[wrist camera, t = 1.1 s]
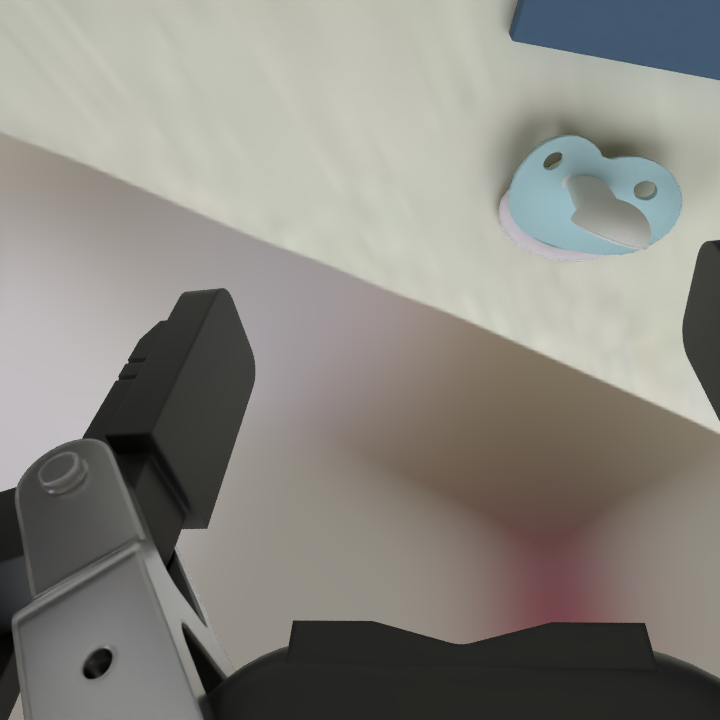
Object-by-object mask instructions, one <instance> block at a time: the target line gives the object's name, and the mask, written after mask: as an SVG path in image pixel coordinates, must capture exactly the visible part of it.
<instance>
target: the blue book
mask: <svg viewBox="0 0 720 720" xmlns="http://www.w3.org/2000/svg"><path fill="white" fill-rule="evenodd" d="M509 35H510V37H511V39H512V40H513V41H516V42H521V43H527V44H532V45H537V46H542V47H548V48H553V49H558V50H563V51H569V52H574V53H579V54H585V55H590V56H595V57H600V58H606V59H611V60H616V61H621V62H627V63H632V64H637V65H642V66H648V67H653V68H658V69H664V70H669V71H674V72H679V73H685V74H690V75H695V76H700V77H706V78H711V79H716V80H720V0H518V4H517V7H516V11H515V14H514V18H513V21H512V24H511V28H510V31H509Z"/></svg>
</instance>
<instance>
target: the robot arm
mask: <svg viewBox="0 0 720 720" xmlns="http://www.w3.org/2000/svg"><path fill="white" fill-rule="evenodd" d="M682 333H683V343H684V348H685V352H686V355H687V357H688V359H689V361H690V363H691V365H692V367H693V369H694V371H695V373H696V375H697V377H698V379H699V381H700V383H701V385H702V387H703V389H704V391H705V393H706V395H707V397H708V399H709V401H710V403H711V405H712V407H713V409H714V411H715V413H716V415H717V417H718V419H719V421H720V240H715V241H707V242H705V243H704V244H703V245H702V246H701V248H700V250H699V253H698V256H697V261H696V265H695V269H694V274H693V278H692V283H691V287H690V292H689V296H688V301H687V305H686V310H685V314H684V319H683V329H682ZM128 361H129V363H128V364H125V366H124V368H123V369H122V371H121V373H120V374H119V376H118V377H119V380H118V381H115V383H114V385H113V387H112V388H111V390H110V392H109V393H108V395H107V397H106V398H105V400H104V402H103V404H102V405H101V407H100V409H99V411H98V412H97V414H96V416H95V417H94V419H93V421H92V422H91V424H90V426H89V428H88V429H87V431H86V433H85V434H84V436H83V438H82V439H79V440H74V441H71V442H68V443H65V444H62V445H60V446H58V447H56V448H54V449H52V450H50V451H49V452H47V453H46V454H44V455H43V456H42V457H40V458H39V459H38V460H37V461H35V462H34V463H33V464H32V465H31V466H30V467H29V468H28V469H27V471H26V472H25V473H24V475H23V476H22V478H21V479H20V481H19V483H18V485H17V487H15V488H12V489H9V490H6V491H2V492H0V720H8V719H9V716H10V714H11V712H12V709H13V707H14V705H15V702H16V700H17V698H18V695H19V693H20V692H21V699H22V706H23V714H24V720H720V679H719V678H718V677H716V676H714V675H712V674H710V673H708V672H706V671H704V670H702V669H700V668H698V667H696V666H694V665H692V664H690V663H687V662H685V661H682V660H679V659H677V658H674V657H672V656H669V655H666V654H663V653H659V652H656V651H653V650H652V647H651V643H650V640H649V636H648V632H647V629H646V625H645V623H570V622H568V623H565V622H562V623H561V622H551V623H547V624H543V625H540V626H536V627H532V628H528V629H524V630H520V631H516V632H512V633H509V634H505V635H501V636H497V637H493V638H489V639H485V640H481V641H477V642H474V643H470V644H453V643H449V642H445V641H442V640H438V639H435V638H431V637H427V636H424V635H420V634H417V633H413V632H410V631H406V630H403V629H399V628H395V627H392V626H388V625H385V624H381V623H378V622H374V621H293V624H292V630H291V636H290V642H289V646H287V647H284V648H280V649H278V650H275V651H273V652H270V653H268V654H265V655H263V656H261V657H259V658H257V659H255V660H254V661H252V662H250V663H248V664H247V665H245V666H243V667H242V668H240V669H239V670H237V671H235V669H234V667H233V665H232V664H231V662H230V660H229V658H228V657H227V655H226V653H225V651H224V650H223V648H222V646H221V644H220V642H219V640H218V638H217V636H216V633H215V631H214V629H213V627H212V624H211V622H210V620H209V617H208V615H207V613H206V611H205V608H204V606H203V604H202V601H201V599H200V597H199V595H198V592H197V590H196V588H195V585H194V583H193V581H192V578H191V576H190V574H189V571H188V569H187V567H186V565H185V562H184V560H183V558H182V555H181V553H180V552H179V550H178V549H177V547H176V543H177V540H178V537H179V535H180V532H181V529H207V527H208V524H209V521H210V518H211V515H212V512H213V509H214V506H215V503H216V500H217V497H218V493H219V490H220V487H221V484H222V481H223V478H224V475H225V472H226V469H227V466H228V462H229V459H230V457H231V453H232V450H233V447H234V444H235V441H236V438H237V435H238V432H239V429H240V426H241V423H242V419H243V416H244V413H245V410H246V407H247V404H248V401H249V398H250V395H251V392H252V389H253V385H254V381H255V361H254V356H253V352H252V349H251V347H250V344H249V341H248V339H247V336H246V334H245V331H244V328H243V326H242V323H241V320H240V318H239V315H238V312H237V310H236V307H235V304H234V302H233V299H232V297H231V295H230V294H229V292H228V291H227V290H226V289H224V288H220V289H210V290H200V291H190V292H184V293H183V294H182V295H181V296H180V298H179V300H178V301H177V303H176V305H175V307H174V309H173V311H172V312H171V314H170V316H169V318H168V320H166V321H160V322H159V323H158V324H157V325H155V326H154V327H153V328H152V329H151V330H150V331H149V332H148V333H147V334H145V335H144V336H143V337H142V338H141V339H140V340H139V342H138V344H137V345H136V347H135V349H134V351H133V352H132V354H131V356H130V357H129V359H128Z"/></svg>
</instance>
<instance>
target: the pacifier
mask: <svg viewBox="0 0 720 720" xmlns="http://www.w3.org/2000/svg"><path fill="white" fill-rule="evenodd" d="M555 152H559V153H561V154H562V158H561V160H560V161H558V162H555V163H554V164H552V165H551V166H550V167H548V168H547V167H544V166H543V163H544V161H545V159H546V158H547V157H548V156H549V155H550V154H552V153H555ZM643 181H649V182H652V183H654V184H655V191H654V193H653V194H652V195H650V196H648V197H638V196H636V195H635V194H634V188H635V186H636V185H637V184H638V183H640V182H643ZM681 207H682V195H681V191H680V187H679V185H678V183H677V182H676V180H675V178H674V177H673V175H672V174H671V173H670V172H669V171H668V170H667V169H665V168H664V167H662V166H661V165H660V164H658V163H656V162H654V161H652V160H649V159H647V158H643V157H637V156H620V157H614V158H606V157H603V156H602V154H601V152H600V150H599V149H598V148H597V147H596V146H595V145H594V144H593V143H592V142H590V141H588V140H587V139H585V138H583V137H581V136H577V135H572V134H567V135H559V136H556V137H553V138H550V139H548V140H546V141H544V142H543V143H541V144H540V145H538V146H537V147H536V148H535V149H534V150H532V151H531V152H530V153H529V154H528V155H527V157H526V158H525V159H524V160H523V162H522V163H521V165H520V166H519V168H518V169H517V171H516V173H515V175H514V177H513V179H512V182H511V186H510V189H508V191H507V192H506V194H505V195H504V196H503V198H502V199H501V202H500V206H499V209H498V213H499V220H500V224H501V226H502V227H503V229H504V231H505V233H506V234H507V235H508V236H509V237H510V238H511V239H512V240H513V241H514V242H515V243H516V244H517V245H519V246H521V247H522V248H524V249H525V250H527V251H529V252H531V253H533V254H536V255H538V256H541V257H544V258H548V259H553V260H557V261H569V262H580V261H587V260H594V259H597V258H600V257H603V256H606V255H622V254H627V253H633V252H635V251H638V250H644V249H647V248H648V246H649V245H652V244H653V243H655V242H656V241H658V240H659V239H661V238H662V237H664V236H665V235H666V234H667V233H668V232H669V231H670V230H671V228H672V227H673V226H674V225H675V223H676V221H677V219H678V217H679V215H680V211H681Z"/></svg>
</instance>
